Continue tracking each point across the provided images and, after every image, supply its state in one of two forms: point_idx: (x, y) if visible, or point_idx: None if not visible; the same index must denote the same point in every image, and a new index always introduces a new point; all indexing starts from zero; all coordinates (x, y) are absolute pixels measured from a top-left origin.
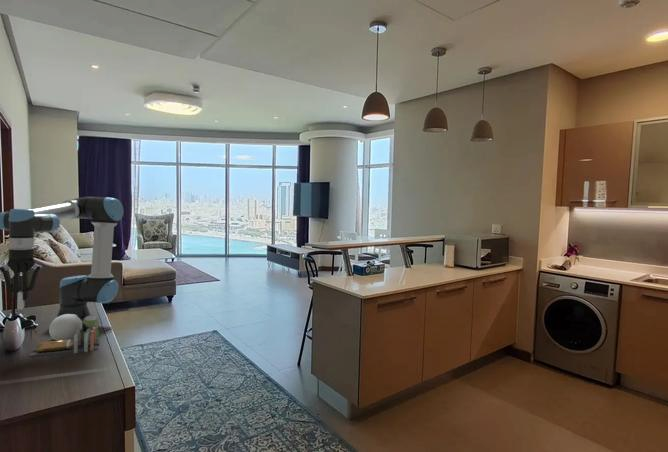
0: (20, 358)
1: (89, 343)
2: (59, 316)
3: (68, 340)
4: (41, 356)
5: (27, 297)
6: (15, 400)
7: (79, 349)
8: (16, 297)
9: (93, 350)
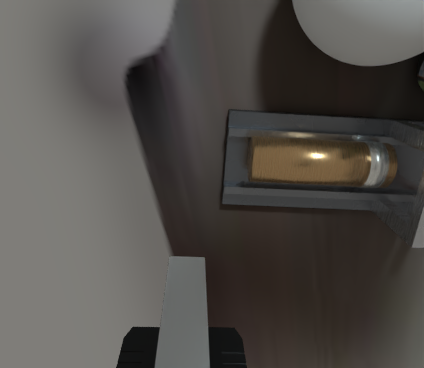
0: (192, 162)
1: None
2: None
3: (374, 178)
4: (265, 201)
5: (242, 349)
6: None
7: (395, 199)
8: None
9: None
